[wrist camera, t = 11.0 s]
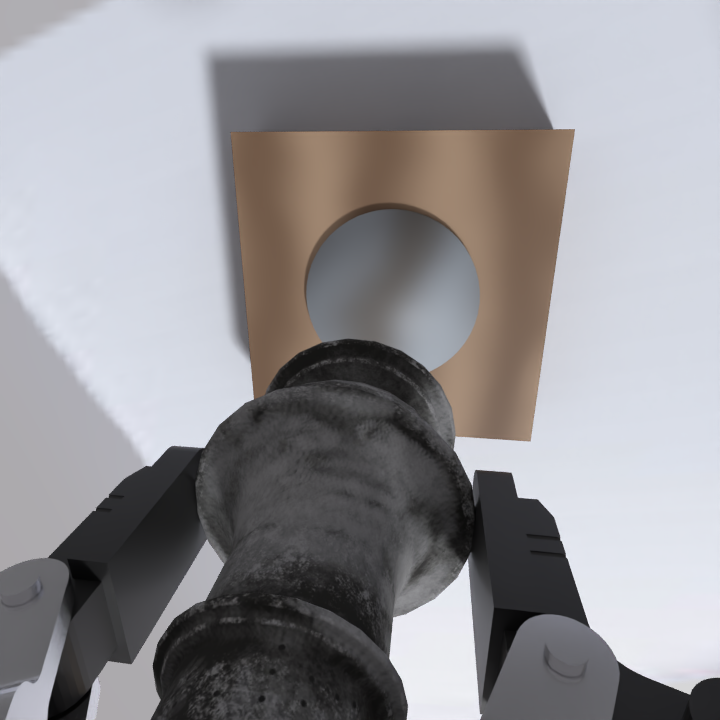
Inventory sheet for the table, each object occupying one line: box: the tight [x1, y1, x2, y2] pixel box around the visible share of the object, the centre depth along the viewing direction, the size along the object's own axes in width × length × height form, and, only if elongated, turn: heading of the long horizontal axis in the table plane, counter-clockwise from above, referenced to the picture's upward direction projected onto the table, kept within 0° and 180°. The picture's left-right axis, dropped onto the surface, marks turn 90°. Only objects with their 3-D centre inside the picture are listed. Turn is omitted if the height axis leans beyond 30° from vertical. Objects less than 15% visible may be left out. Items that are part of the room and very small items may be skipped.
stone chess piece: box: [151, 339, 475, 720], centre depth 8 cm, size 6×6×12 cm
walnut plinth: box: [231, 129, 575, 441], centre depth 28 cm, size 16×16×4 cm
